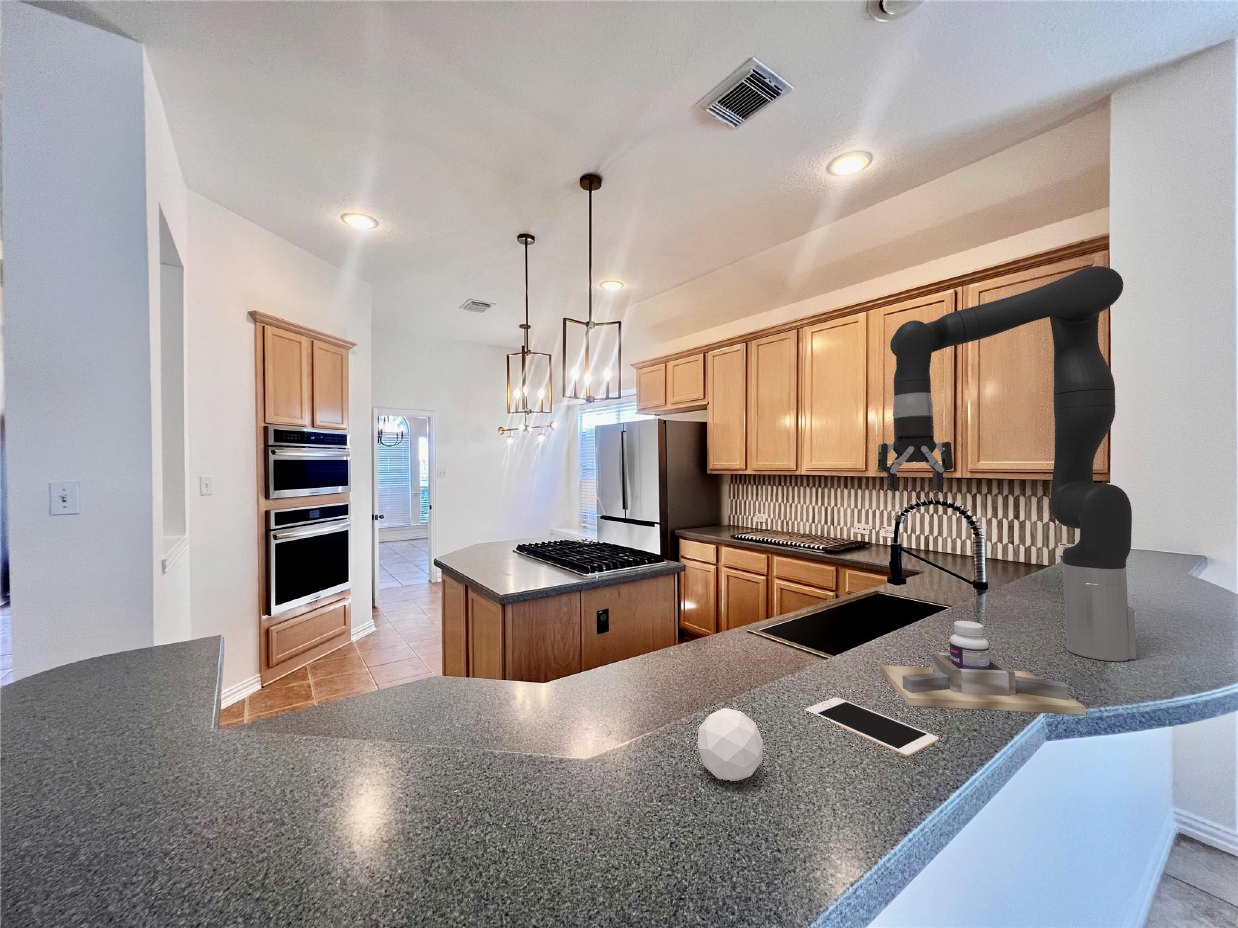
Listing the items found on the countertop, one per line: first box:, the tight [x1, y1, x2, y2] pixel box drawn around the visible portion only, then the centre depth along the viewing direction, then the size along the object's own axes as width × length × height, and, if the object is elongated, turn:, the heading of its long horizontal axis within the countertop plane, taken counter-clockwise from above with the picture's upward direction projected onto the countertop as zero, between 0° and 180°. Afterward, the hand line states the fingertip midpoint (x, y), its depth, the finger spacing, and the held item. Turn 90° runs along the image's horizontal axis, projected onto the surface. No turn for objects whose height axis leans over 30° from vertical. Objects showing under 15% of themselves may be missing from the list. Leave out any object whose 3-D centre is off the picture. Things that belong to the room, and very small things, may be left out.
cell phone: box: [805, 697, 939, 757], centre depth 76 cm, size 8×16×1 cm, turn 32°
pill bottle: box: [949, 620, 990, 670], centre depth 86 cm, size 5×5×10 cm
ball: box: [697, 707, 764, 782], centre depth 63 cm, size 8×8×8 cm
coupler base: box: [879, 652, 1087, 716], centre depth 86 cm, size 24×14×5 cm, turn 80°
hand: (915, 490), depth 113 cm, fingers open, 8 cm apart
